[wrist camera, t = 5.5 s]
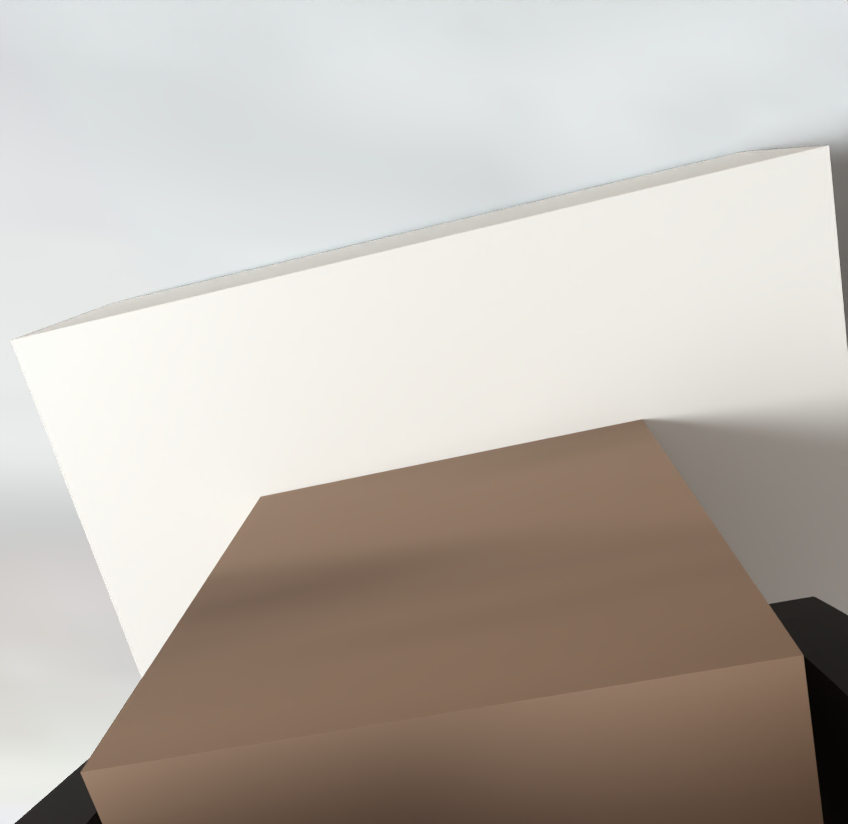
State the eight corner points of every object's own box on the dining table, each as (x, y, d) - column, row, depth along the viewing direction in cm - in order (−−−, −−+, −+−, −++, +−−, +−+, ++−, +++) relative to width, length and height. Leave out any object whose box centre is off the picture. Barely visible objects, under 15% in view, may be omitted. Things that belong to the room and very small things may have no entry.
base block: (809, 716, 14) (893, 852, 11) (285, 796, 16) (242, 938, 13) (741, 152, 12) (829, 145, 9) (113, 302, 13) (10, 339, 10)
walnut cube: (697, 749, 11) (866, 1183, 6) (357, 801, 12) (277, 1232, 7) (642, 418, 10) (803, 654, 5) (260, 496, 10) (80, 771, 6)
